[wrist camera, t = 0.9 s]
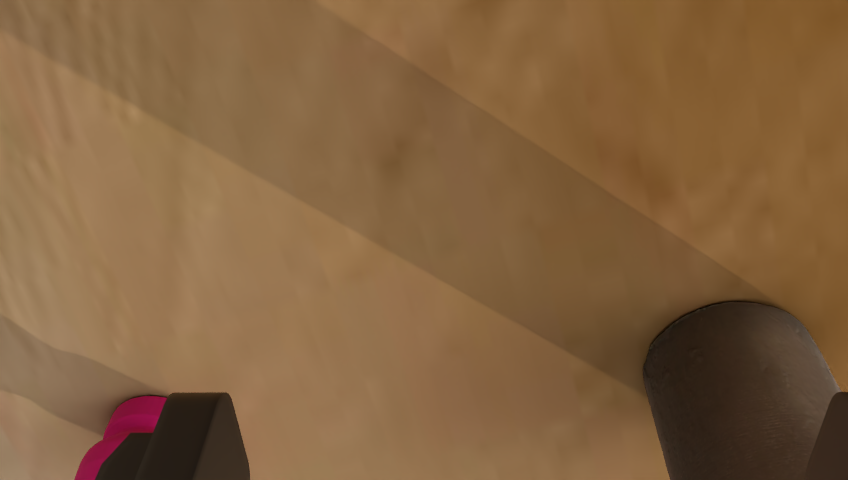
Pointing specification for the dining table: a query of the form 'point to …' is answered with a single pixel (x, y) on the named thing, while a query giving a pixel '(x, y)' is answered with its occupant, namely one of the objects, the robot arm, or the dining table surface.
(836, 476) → the robot arm
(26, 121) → the dining table surface
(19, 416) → the dining table surface
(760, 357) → the pillar candle
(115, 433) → the pepper mill
